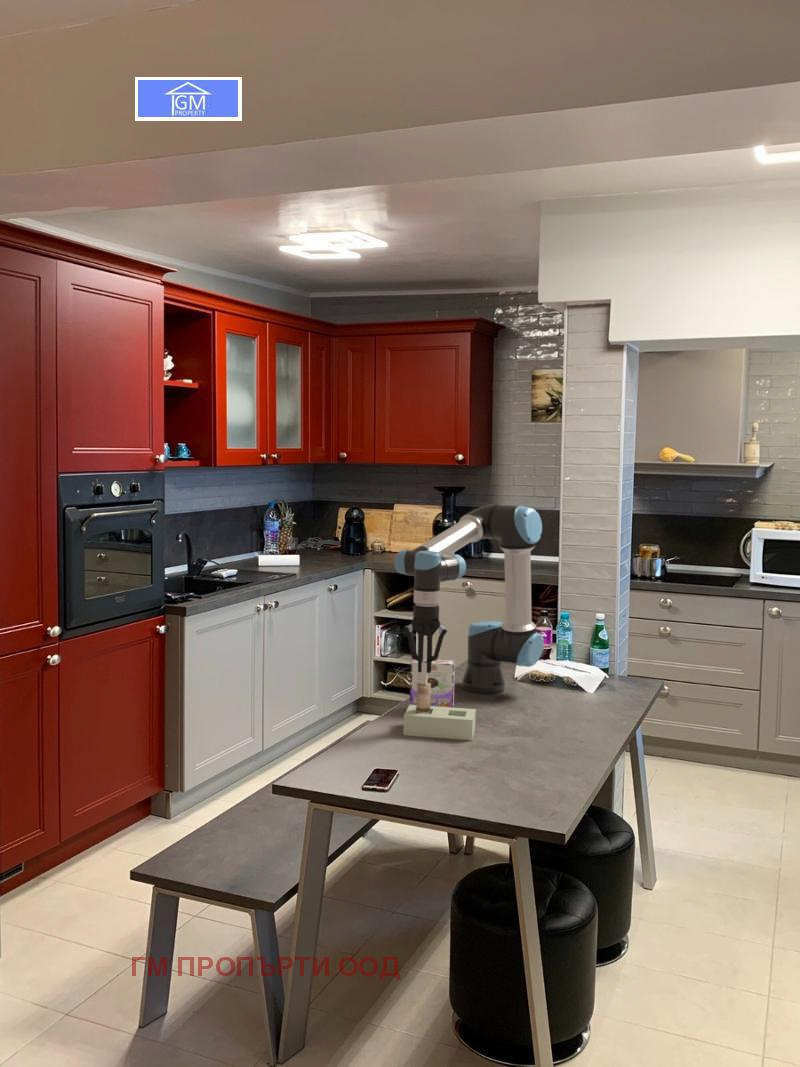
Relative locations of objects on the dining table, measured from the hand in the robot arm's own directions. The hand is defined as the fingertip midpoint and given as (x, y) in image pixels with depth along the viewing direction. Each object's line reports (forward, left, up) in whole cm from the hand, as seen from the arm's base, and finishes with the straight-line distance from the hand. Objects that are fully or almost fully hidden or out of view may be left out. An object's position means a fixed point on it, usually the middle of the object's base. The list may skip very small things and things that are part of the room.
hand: (424, 683), depth 280 cm
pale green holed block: (0, +5, -14) cm, 15 cm away
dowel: (0, 0, -14) cm, 14 cm away
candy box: (-20, 0, -15) cm, 25 cm away
